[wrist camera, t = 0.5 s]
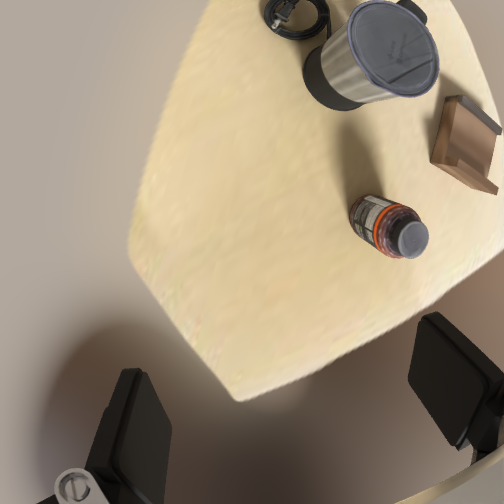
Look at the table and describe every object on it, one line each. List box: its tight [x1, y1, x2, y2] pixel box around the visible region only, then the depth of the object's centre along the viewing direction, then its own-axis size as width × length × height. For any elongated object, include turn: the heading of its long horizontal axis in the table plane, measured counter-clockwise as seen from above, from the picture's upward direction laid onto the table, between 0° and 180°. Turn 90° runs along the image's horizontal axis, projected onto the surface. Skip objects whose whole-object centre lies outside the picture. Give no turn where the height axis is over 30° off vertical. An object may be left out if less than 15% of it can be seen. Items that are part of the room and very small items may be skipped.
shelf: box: [430, 95, 502, 195], centre depth 32 cm, size 12×10×6 cm
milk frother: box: [264, 0, 440, 111], centre depth 23 cm, size 14×16×15 cm
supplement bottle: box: [350, 195, 429, 259], centre depth 32 cm, size 6×6×11 cm
